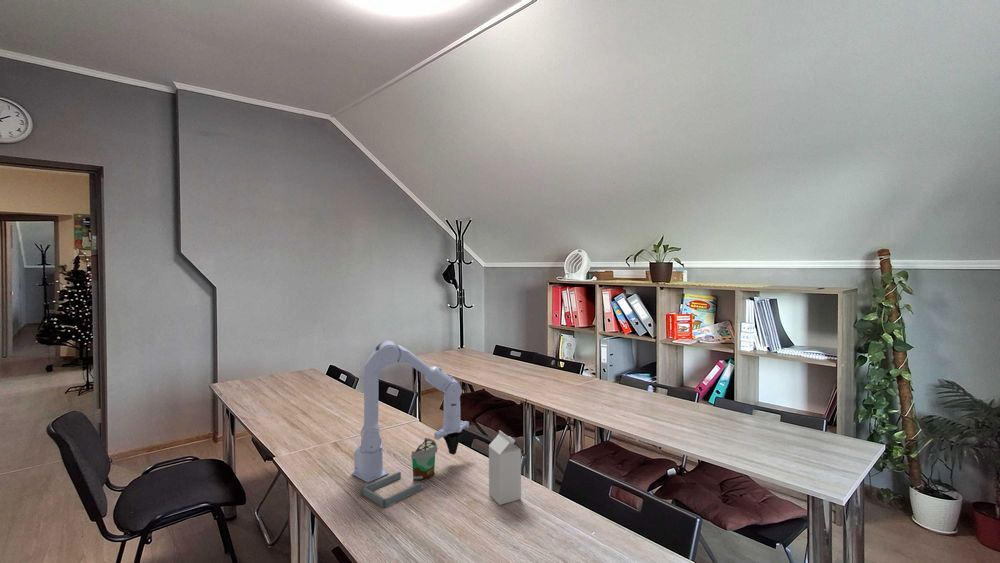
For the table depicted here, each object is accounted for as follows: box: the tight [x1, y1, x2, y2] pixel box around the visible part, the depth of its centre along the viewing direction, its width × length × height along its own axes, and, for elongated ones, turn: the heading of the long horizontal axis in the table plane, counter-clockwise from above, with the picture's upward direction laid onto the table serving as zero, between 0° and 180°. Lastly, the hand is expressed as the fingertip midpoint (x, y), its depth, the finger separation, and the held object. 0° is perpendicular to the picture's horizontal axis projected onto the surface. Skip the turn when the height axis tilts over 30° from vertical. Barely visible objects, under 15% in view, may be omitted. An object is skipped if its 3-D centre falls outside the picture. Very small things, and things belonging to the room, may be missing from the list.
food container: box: [410, 437, 438, 482], centre depth 149 cm, size 12×6×10 cm, turn 168°
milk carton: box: [488, 430, 522, 506], centre depth 135 cm, size 7×7×19 cm
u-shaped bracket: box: [361, 470, 423, 508], centre depth 139 cm, size 12×14×2 cm
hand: (452, 453), depth 157 cm, fingers closed
